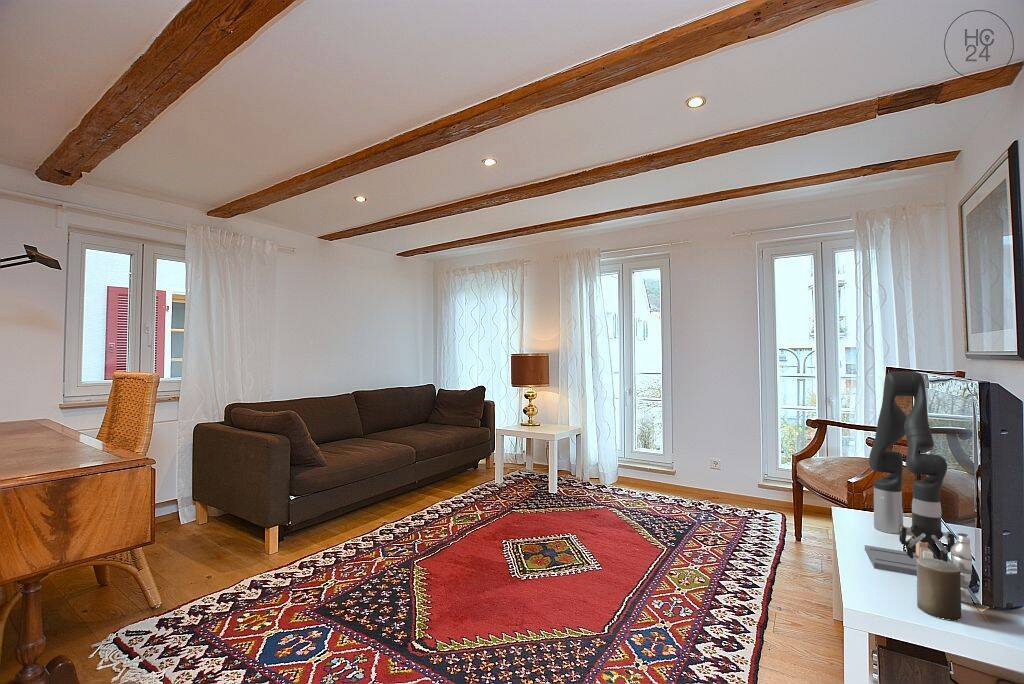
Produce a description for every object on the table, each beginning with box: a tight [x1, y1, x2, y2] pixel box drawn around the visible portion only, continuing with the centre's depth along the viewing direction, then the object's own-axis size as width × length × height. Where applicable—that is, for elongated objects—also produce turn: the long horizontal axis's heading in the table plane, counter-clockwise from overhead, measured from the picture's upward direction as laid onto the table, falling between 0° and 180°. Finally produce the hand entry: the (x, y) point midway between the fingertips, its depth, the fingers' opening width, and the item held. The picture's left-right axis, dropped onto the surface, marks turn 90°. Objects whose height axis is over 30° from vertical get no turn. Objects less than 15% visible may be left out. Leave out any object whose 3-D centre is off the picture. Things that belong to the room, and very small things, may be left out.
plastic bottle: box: [950, 532, 974, 605], centre depth 142 cm, size 6×7×20 cm
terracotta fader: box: [915, 541, 929, 558], centre depth 167 cm, size 2×4×6 cm, turn 152°
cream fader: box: [920, 547, 934, 559], centre depth 159 cm, size 2×4×6 cm, turn 153°
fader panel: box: [864, 544, 936, 577], centre depth 166 cm, size 20×16×2 cm
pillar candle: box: [916, 558, 962, 621], centre depth 137 cm, size 10×10×15 cm
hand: (926, 560), depth 159 cm, fingers open, 8 cm apart
